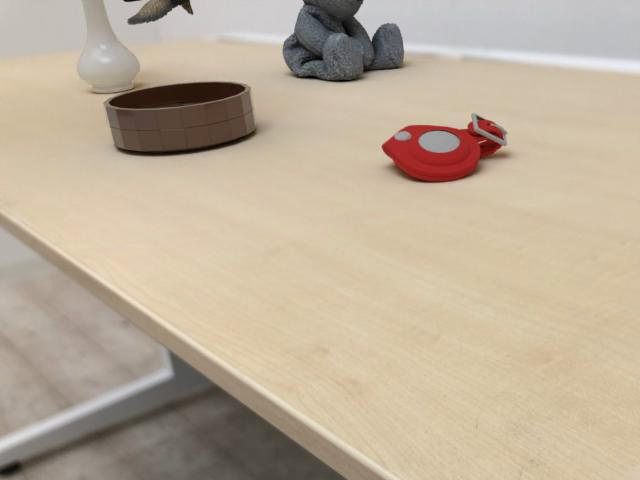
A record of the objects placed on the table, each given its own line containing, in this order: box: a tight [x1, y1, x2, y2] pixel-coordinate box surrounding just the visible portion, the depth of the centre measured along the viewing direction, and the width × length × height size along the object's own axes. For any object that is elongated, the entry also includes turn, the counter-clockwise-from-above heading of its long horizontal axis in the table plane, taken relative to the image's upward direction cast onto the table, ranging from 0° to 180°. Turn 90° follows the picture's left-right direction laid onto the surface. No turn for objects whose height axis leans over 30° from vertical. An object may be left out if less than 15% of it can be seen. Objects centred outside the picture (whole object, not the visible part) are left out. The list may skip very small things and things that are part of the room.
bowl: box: [102, 80, 258, 153], centre depth 93 cm, size 16×16×5 cm
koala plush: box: [281, 0, 405, 81], centre depth 126 cm, size 17×18×20 cm
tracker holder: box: [381, 112, 508, 183], centre depth 77 cm, size 12×4×10 cm
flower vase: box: [76, 0, 141, 94], centre depth 121 cm, size 13×18×25 cm
